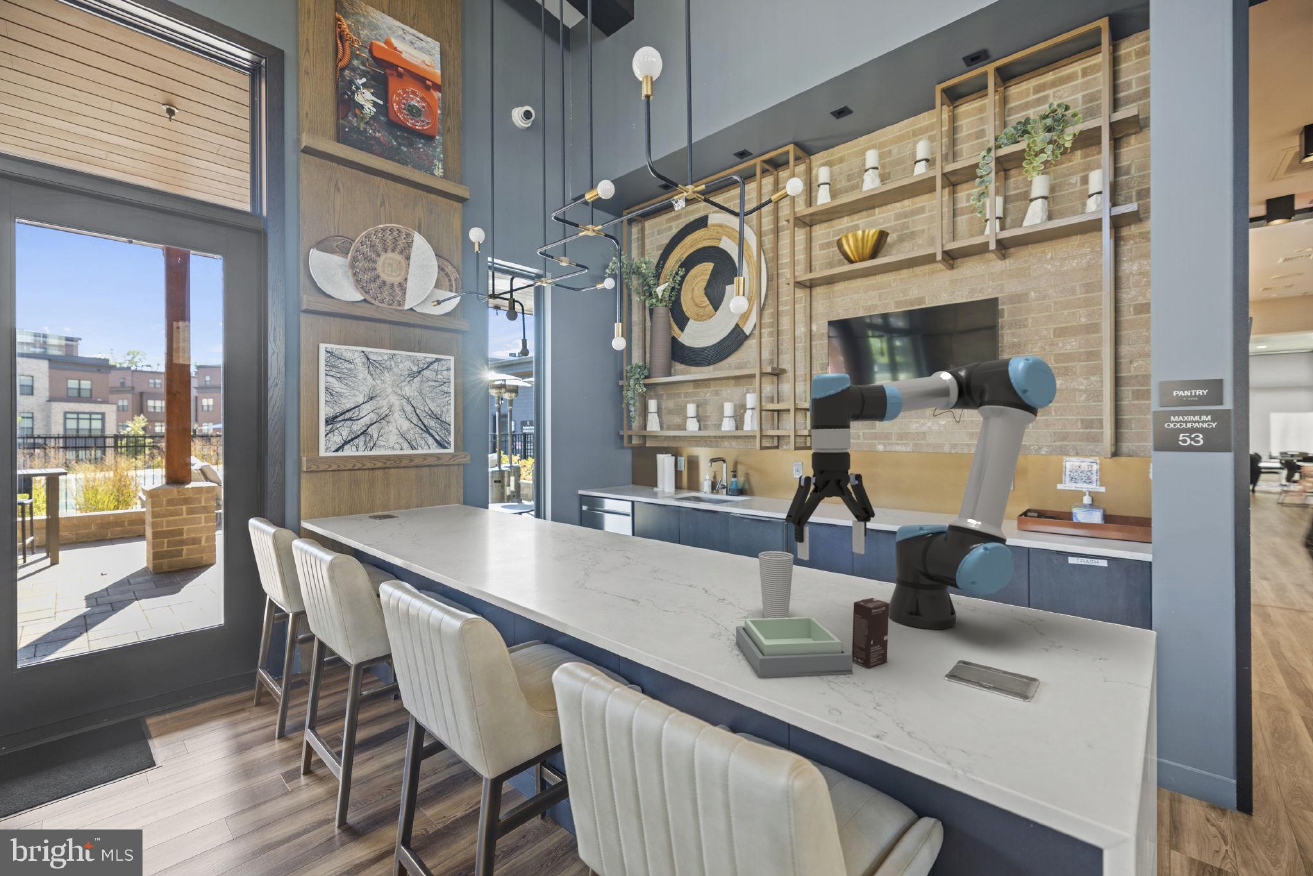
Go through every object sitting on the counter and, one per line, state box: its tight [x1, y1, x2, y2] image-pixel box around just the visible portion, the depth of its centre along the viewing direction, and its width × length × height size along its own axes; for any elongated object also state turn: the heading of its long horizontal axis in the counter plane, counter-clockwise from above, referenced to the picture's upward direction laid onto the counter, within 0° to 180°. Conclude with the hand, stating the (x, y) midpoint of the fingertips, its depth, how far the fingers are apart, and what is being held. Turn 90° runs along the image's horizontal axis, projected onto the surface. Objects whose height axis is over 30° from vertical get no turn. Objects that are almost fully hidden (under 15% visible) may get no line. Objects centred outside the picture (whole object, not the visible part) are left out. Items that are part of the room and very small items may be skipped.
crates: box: [735, 616, 853, 679], centre depth 117 cm, size 18×18×6 cm
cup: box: [758, 550, 795, 618], centre depth 142 cm, size 8×8×16 cm
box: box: [851, 597, 890, 669], centre depth 115 cm, size 6×4×12 cm
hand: (831, 555), depth 117 cm, fingers open, 13 cm apart
